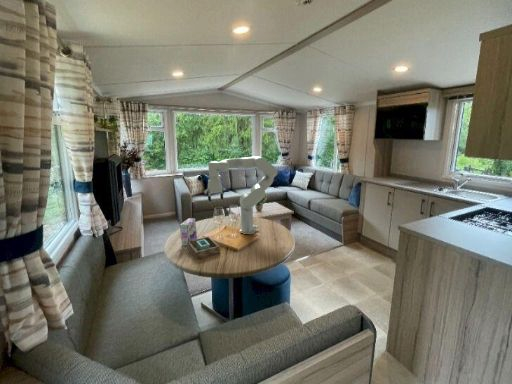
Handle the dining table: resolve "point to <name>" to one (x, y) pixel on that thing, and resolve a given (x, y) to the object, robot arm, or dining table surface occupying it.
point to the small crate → (202, 245)
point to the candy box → (188, 231)
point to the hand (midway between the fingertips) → (215, 200)
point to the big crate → (208, 252)
